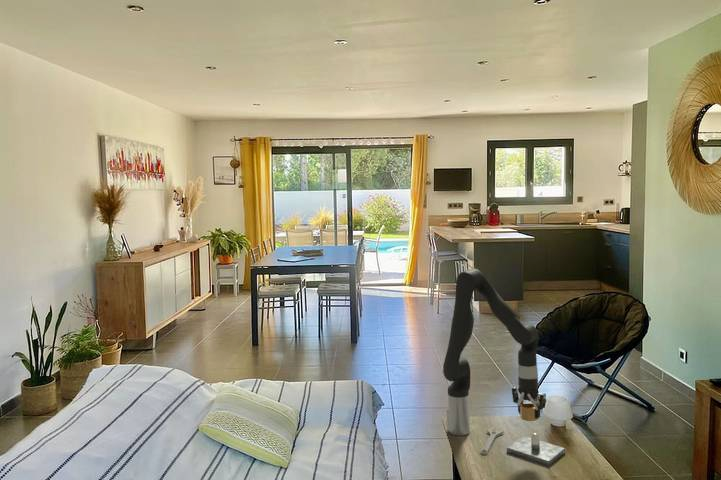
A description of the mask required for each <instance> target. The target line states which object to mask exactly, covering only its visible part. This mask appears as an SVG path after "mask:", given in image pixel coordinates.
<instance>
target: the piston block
mask: <svg viewBox="0 0 721 480" xmlns="http://www.w3.org/2000/svg"><path fill="white" fill-rule="evenodd" d="M506 453H509V454H512V455H515V456H517V457H520V458H523V459H527V460H530V461H533V462H535V463H539V464H542V465H544V466H548V467H550V466H551V465H552V464H553V463H554V462H556V461H557V460H558V459H559V458H560V457H562V456H563V455H564V454H565V453H566V450H565V447H562V446H560V445H556V444H553V443H549V442H545V441H542V440H540V434H538V433H537V432H534V433H532V434H531V435H530V437H529V436H526V435H522V436H521V437H519V438H517V440H515V441H514V442H512V443H511V444H509V445H508V446H507V447H506Z"/></svg>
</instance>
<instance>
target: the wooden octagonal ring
mask: <svg viewBox="0 0 721 480" xmlns="http://www.w3.org/2000/svg"><path fill="white" fill-rule="evenodd" d="M519 415H520V416H519V417H520V419H521V420H523V421H526V422H535V421H537V420H538V419H535V407H534V405H533V404H532V403H531V402H523V403H522V404H520V414H519Z"/></svg>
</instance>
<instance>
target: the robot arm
mask: <svg viewBox="0 0 721 480" xmlns="http://www.w3.org/2000/svg"><path fill="white" fill-rule="evenodd" d="M475 291H476V292H478V293H479V294H480V295H481V296H482V297H483V298H484V300H486V302H487V304H488V306H489V309H490V311H491V312H492V314H493V315H494V316H495V318H497V319H498V320H499V321H500V323H501V324H502V325H504V326H505V328H506V329H507V331H508V332H509V334H510V335H511V337H512V338H513V340H514V341H515V342H517V343H518V344H519V345H521V346H520V348H519V350H518V353H517V362H518V365H517V377H518V378H517V380H518V381H517V382H518V386H514V387H512V388H511V393H512V394H511V395H512V402H513V403H514V404H516V405H517V411H518V414H519V415H520V404H522V403H525V401H528V402H530V403H532V404H533V405H534V407H535V419H537V420H539V418H540V417H541V410H543V409H545V408H546V399H547V394H546V393H541V392H539V390H538V389H539V372H538V365H537V364H538V363H537V352H538V345H539V332H538V329H537V327H535V325H532V324H530V323H529V324H524V325H523V323H522V322H521V321H520V315H519V314H518V313H517V312H516V310H515V309H513V308H512V307H511V306H510V305H509V304H508V303H507V302H506V301H505V299H503V298H502V297H501V296H500V294H499V293H498V292H497V291H496V289H495V288H494V287H493V285H491V283H490V282H489V281H488V279H487V278H486V276H485V275H484V274H483V273H482V272H481V270H479V269H477V268H470V269H467V270H464V271H461V272H460V273H459V274H458V275H457V277H456V282H455V299H454V305H453V306H454V308H453V314H452V320H451V326H450V327H451V328H450V335H449V340H448V346H447V350H446V353H445V358H444V362H443V366H442V367H443V368H442V373H443V376H444V378H445V379H446V380H447V381H448V382H451V384H450V385H448V387H447V403H448V404H447V406H448V408H447V410H446V431H447V432H449V433H450V434H452V435H454V436H466V435H469V434H470V432H471V427H470V424H471V423H470V422H471V420H470V419H471V418H470V396H469V394H470V392H469V391H470V389H471V366H470V364H469V361H468V359H466V358H465V357H463V356H462V357H461V355H462V353H463V351H464V349H465V348H466V346H467V344H468V343H469V341H470V339H471V338H472V335H473V330H474V324H475V323H474V322H475V318H474V315H473V312H472V311H473V310H472V306H471V305H472V304H471V303H472V297H473V294H474V292H475ZM519 394H520V395H519Z"/></svg>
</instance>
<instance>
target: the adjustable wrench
mask: <svg viewBox="0 0 721 480" xmlns="http://www.w3.org/2000/svg"><path fill="white" fill-rule="evenodd" d="M486 433H487V434H488V435H489V437H488V438H487V440H486V442H485V443H484V445H483V447H482V448H481V450H480V454H481V455H484V456H485V455H486V456H487V455H488V453H490V452H489V451H490V450H491V449H492V446H493V445H494V442H495V440H496V439H497V438H498V437H500V436H502V435H504V433H505V431H504V429H503V428H502V427H498V430H494V427H490V428H488V430H486Z"/></svg>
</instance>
